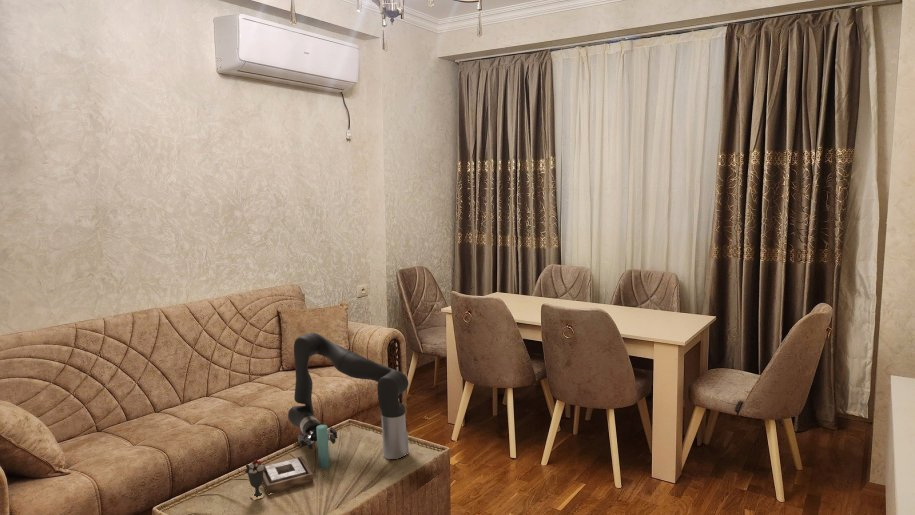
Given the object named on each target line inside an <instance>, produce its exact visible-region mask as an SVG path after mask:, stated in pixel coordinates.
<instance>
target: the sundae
mask: <svg viewBox="0 0 915 515" xmlns="http://www.w3.org/2000/svg"><path fill="white" fill-rule="evenodd" d="M261 457H262V455H261V454H259V455H258V457H257V458H256V459H254V461H251V463H249V464H246V465H245V467H246V469H245V470H244V473H246V474H247V477H248V479H249V483H250V486H251V487H253V488H254V491H255V492H254V493H255V494H254V493H253V494H254V496H256V497H258V496H261V495H262V493H263V492H262V493H260V487H261V486H262V484H263V483H262V482H263V472H264V470H266V468H265V466H263V465H264V464H262V461H260V460H259V459H260V458H261Z"/></svg>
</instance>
